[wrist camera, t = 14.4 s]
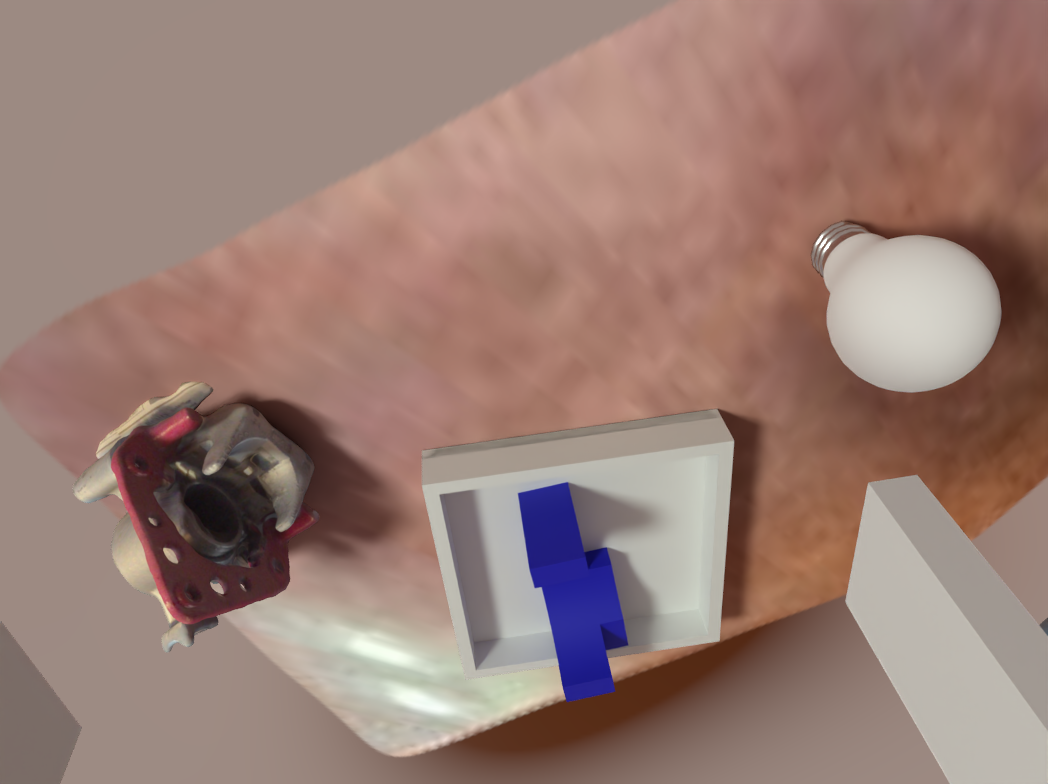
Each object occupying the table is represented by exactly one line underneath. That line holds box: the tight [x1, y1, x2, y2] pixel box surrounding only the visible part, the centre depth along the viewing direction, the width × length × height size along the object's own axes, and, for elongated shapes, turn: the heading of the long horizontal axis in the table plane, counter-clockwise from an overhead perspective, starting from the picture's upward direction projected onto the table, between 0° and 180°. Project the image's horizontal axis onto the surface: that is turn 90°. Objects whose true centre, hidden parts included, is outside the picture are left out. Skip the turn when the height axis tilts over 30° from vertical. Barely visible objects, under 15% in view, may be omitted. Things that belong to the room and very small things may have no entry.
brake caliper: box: [73, 382, 319, 652], centre depth 40 cm, size 11×11×12 cm
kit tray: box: [422, 409, 734, 680], centre depth 48 cm, size 17×17×3 cm
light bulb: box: [811, 221, 1002, 393], centre depth 35 cm, size 7×7×11 cm
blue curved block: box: [518, 482, 628, 702], centre depth 47 cm, size 12×4×6 cm, turn 11°
